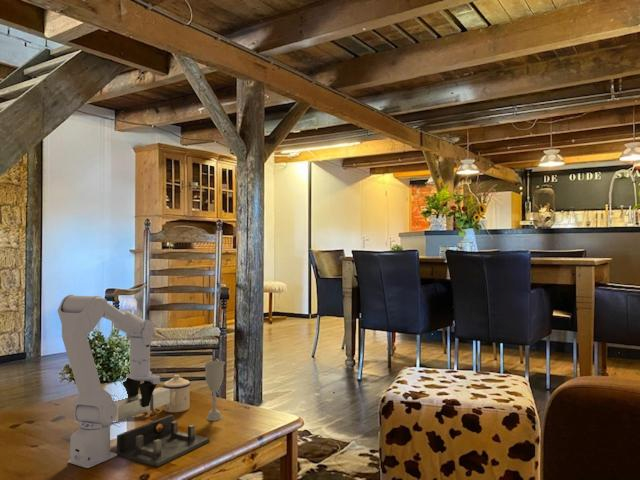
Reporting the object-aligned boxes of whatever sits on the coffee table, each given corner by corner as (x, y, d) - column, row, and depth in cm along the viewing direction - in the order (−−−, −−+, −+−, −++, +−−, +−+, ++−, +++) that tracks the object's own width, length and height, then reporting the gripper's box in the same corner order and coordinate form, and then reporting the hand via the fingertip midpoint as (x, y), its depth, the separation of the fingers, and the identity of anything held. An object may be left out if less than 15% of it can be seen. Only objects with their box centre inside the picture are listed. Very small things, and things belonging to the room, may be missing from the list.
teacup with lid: (165, 405, 188) (166, 372, 188) (192, 404, 188) (192, 371, 188) (158, 416, 176) (158, 381, 176) (186, 415, 176) (186, 380, 176)
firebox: (157, 467, 135) (157, 445, 135) (116, 455, 143) (117, 435, 143) (209, 441, 153) (209, 422, 153) (171, 432, 160) (171, 414, 160)
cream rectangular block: (118, 422, 149) (118, 406, 149) (107, 419, 151) (107, 403, 151) (169, 403, 166) (169, 388, 166) (159, 401, 168) (159, 386, 168)
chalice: (222, 421, 170) (222, 365, 170) (201, 421, 170) (201, 365, 170) (226, 414, 177) (227, 360, 178) (206, 414, 177) (206, 360, 178)
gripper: (167, 359, 159) (167, 405, 159) (133, 354, 166) (133, 398, 165) (149, 364, 153) (149, 411, 152) (114, 358, 159) (114, 404, 159)
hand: (139, 405), depth 158 cm, fingers closed on cream rectangular block, 4 cm apart
